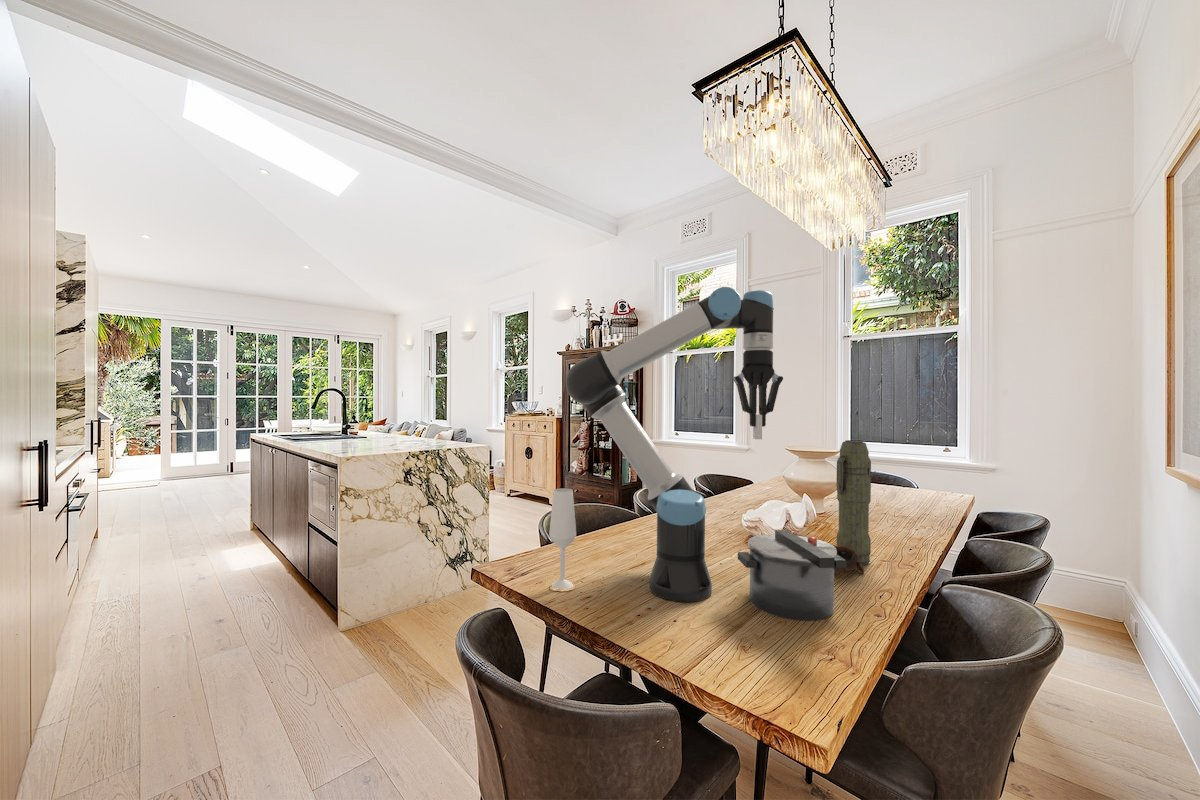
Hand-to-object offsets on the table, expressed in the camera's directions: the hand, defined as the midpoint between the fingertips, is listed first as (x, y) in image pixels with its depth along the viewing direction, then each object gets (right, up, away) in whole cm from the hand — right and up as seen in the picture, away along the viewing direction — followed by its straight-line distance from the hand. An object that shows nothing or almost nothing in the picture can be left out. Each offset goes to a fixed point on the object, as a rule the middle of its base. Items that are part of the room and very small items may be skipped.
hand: (757, 438), depth 128 cm
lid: (+2, -24, -20) cm, 32 cm away
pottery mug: (+25, -37, +4) cm, 45 cm away
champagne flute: (-51, -36, -9) cm, 63 cm away
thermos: (+33, -37, +14) cm, 51 cm away
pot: (+2, -37, -16) cm, 40 cm away
